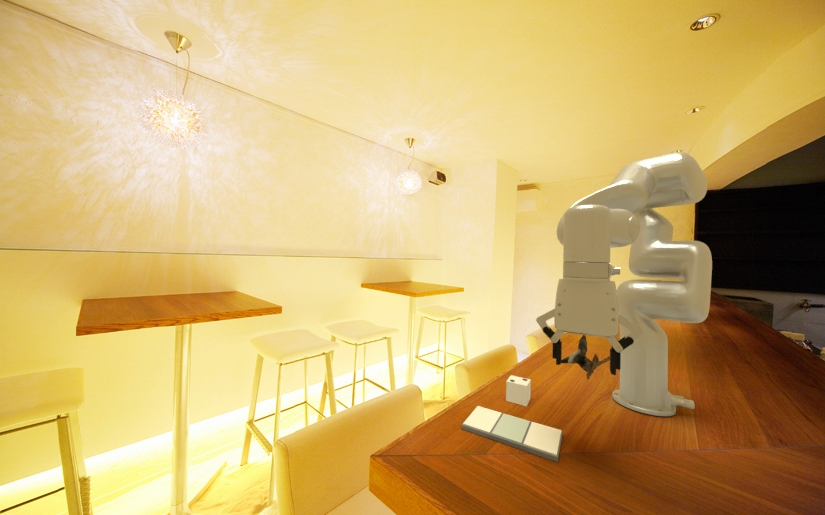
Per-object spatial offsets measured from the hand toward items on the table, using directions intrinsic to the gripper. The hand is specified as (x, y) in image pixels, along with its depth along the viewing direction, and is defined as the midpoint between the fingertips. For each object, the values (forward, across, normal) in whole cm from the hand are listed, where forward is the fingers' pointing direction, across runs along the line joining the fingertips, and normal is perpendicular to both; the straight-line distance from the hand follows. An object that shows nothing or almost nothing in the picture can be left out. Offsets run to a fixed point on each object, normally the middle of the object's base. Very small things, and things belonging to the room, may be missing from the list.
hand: (584, 367), depth 53 cm
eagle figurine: (+2, +1, -2) cm, 2 cm away
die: (+16, +14, -16) cm, 27 cm away
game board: (+16, +13, 0) cm, 20 cm away
